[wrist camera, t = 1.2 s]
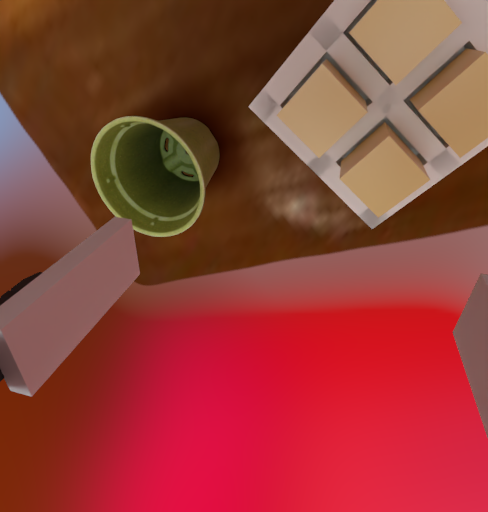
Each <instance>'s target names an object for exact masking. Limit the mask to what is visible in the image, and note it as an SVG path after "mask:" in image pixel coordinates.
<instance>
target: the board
mask: <svg viewBox="0 0 488 512" xmlns="http://www.w3.org/2000/svg"><path fill="white" fill-rule="evenodd" d="M376 1H377V0H334V1H333V3H332V4H331V5H330V6H329V8H328V9H327V10H326V11H325V13H324V14H323V15H322V16H321V17H320V19H319V20H318V21H317V22H316V24H315V25H314V26H313V27H312V29H311V30H310V31H309V32H308V34H307V35H306V36H305V37H304V39H303V40H302V41H301V42H300V43H299V45H298V46H297V47H296V48H295V50H294V51H293V52H292V53H291V55H290V56H289V57H288V58H287V60H286V61H285V62H284V63H283V65H282V66H281V67H280V68H279V69H278V71H277V72H276V73H275V74H274V76H273V77H272V78H271V79H270V81H269V82H268V83H267V84H266V86H265V87H264V88H263V89H262V91H261V92H260V93H259V94H258V95H257V97H256V98H255V99H254V100H253V102H252V103H251V104H250V105H249V108H250V109H251V110H252V111H253V112H254V113H255V114H256V115H257V116H258V117H259V118H260V119H261V120H262V121H263V122H264V123H265V124H266V125H267V126H268V127H269V128H270V129H271V130H272V131H273V132H274V133H275V134H276V135H277V136H278V137H279V138H280V139H281V140H282V141H283V142H284V143H285V144H286V145H287V146H288V147H289V148H290V149H291V150H292V151H293V152H294V153H295V154H296V155H297V156H298V157H299V158H300V159H302V160H303V161H304V162H305V163H306V164H307V165H308V166H309V167H310V168H311V169H312V170H313V171H314V172H315V173H316V174H317V175H318V176H319V177H320V178H321V179H322V180H323V181H324V182H325V183H326V184H327V185H328V186H329V187H330V188H331V189H332V190H333V191H334V192H335V193H336V194H337V195H338V196H339V197H340V198H341V199H342V200H343V201H344V202H345V203H346V204H347V205H348V206H349V207H350V208H351V209H352V210H353V211H354V212H355V213H356V214H357V215H358V216H359V217H360V218H361V219H362V220H363V221H364V222H365V223H366V224H367V225H368V226H369V227H370V228H371V229H373V228H374V227H376V226H377V225H379V224H380V223H381V222H383V221H384V220H386V219H387V218H388V217H390V216H391V215H393V214H394V213H395V212H397V211H398V210H399V209H401V208H402V207H404V206H405V205H406V204H408V203H409V202H411V201H412V200H413V199H415V198H416V197H418V196H419V195H420V194H422V193H423V192H424V191H426V190H427V189H429V188H430V187H431V186H433V185H434V184H436V183H437V182H438V181H440V180H441V179H443V178H444V177H445V176H447V175H448V174H449V173H451V172H452V171H454V170H455V169H456V168H458V167H459V166H461V165H462V164H463V163H465V162H466V161H468V160H469V159H470V158H472V157H473V156H474V155H476V154H477V153H479V152H480V151H481V150H483V149H484V148H486V147H487V146H488V138H487V139H485V140H484V141H483V142H481V143H480V144H479V145H477V146H476V147H475V148H473V149H472V150H470V151H469V152H468V153H466V154H465V155H464V156H462V157H461V158H460V157H459V156H458V155H457V154H456V153H455V152H454V151H453V149H452V148H451V147H450V146H449V145H448V144H447V143H446V142H445V140H444V139H443V138H442V137H441V136H440V135H439V134H438V133H437V131H436V130H435V129H434V128H433V127H432V126H431V125H430V124H429V122H428V121H427V120H426V119H425V118H424V117H423V116H422V115H421V113H420V112H419V111H418V110H417V109H416V107H415V106H414V105H413V103H412V102H411V101H410V99H411V98H412V97H413V96H414V95H415V94H416V93H417V92H418V91H420V90H421V89H422V88H423V87H424V86H425V85H426V84H427V83H428V82H430V81H431V80H432V79H433V78H434V77H435V76H436V75H437V74H438V73H440V72H441V71H442V70H443V69H444V68H445V67H446V66H447V65H448V64H450V63H451V62H452V61H453V60H454V59H455V58H456V57H457V56H458V55H460V54H461V53H462V52H463V51H464V50H465V49H466V48H467V49H472V50H478V51H483V52H486V53H487V54H488V1H487V0H444V1H445V2H446V3H447V5H448V6H449V7H450V8H451V10H452V11H453V12H454V13H455V15H456V16H457V17H458V18H459V19H460V21H461V22H462V23H461V24H460V25H459V26H458V27H457V28H456V29H455V30H454V31H453V32H452V33H451V34H450V35H449V36H448V37H447V38H446V39H445V40H444V41H442V42H441V43H440V44H439V45H438V46H437V47H436V48H435V49H434V50H433V51H432V52H431V53H430V54H429V55H428V56H427V57H426V58H425V59H423V60H422V61H421V62H420V63H419V64H418V65H417V66H416V67H415V68H414V69H413V70H412V71H411V72H410V73H409V74H408V75H407V76H406V77H404V78H403V79H402V80H401V81H400V82H399V83H398V84H397V85H395V84H394V83H393V82H392V81H391V80H390V79H389V77H388V76H387V75H386V74H385V73H384V72H383V71H382V70H381V68H380V67H379V66H378V65H377V64H376V63H375V62H374V61H373V59H372V58H371V57H370V56H369V55H368V54H367V53H366V52H365V50H364V49H363V48H362V47H361V46H360V45H359V44H358V43H357V41H356V40H355V39H354V38H353V37H352V36H351V35H350V34H349V32H350V31H351V30H352V29H353V28H354V27H355V25H356V24H357V23H358V22H359V21H360V20H361V19H362V17H363V16H364V15H365V14H366V13H367V12H368V11H369V9H370V8H371V7H372V6H373V5H374V4H375V3H376ZM326 59H327V60H328V61H329V62H330V63H331V64H332V65H333V66H334V67H335V68H336V69H337V70H338V71H339V73H340V74H341V75H342V76H343V77H344V78H345V79H346V80H347V81H348V82H349V83H350V85H351V86H352V87H353V88H354V89H355V90H356V91H357V92H358V93H359V94H360V95H361V96H362V98H363V99H364V100H365V101H366V105H367V111H368V113H366V114H365V115H364V116H363V117H362V118H361V119H360V120H359V121H358V122H357V123H356V124H355V125H354V126H353V127H352V128H351V129H350V130H349V131H347V132H346V133H345V134H344V135H343V136H342V137H341V138H340V139H339V140H338V141H337V142H336V143H335V144H334V145H333V146H332V147H331V148H330V149H328V150H327V151H326V152H325V153H324V154H323V155H322V156H321V157H320V158H318V157H317V156H316V155H315V154H314V153H313V152H312V151H311V150H310V149H309V148H308V147H307V146H306V145H305V144H304V143H303V142H302V141H301V140H300V139H299V138H298V137H297V136H296V135H295V134H294V133H293V132H292V131H291V130H290V129H289V128H288V127H287V126H286V125H285V124H284V123H283V122H282V121H281V120H280V119H279V117H278V116H277V114H278V113H279V112H280V111H281V110H282V108H283V107H284V106H285V105H286V104H287V103H288V102H289V101H290V99H291V98H292V97H293V96H294V95H295V94H296V93H297V91H298V90H299V89H300V88H301V87H302V86H303V85H304V83H305V82H306V81H307V80H308V79H309V78H310V77H311V75H312V74H313V73H314V72H315V71H316V70H317V69H318V68H319V66H320V65H321V64H322V63H323V62H324V61H325V60H326ZM384 122H385V123H386V124H387V125H388V126H389V127H390V128H391V129H392V130H393V131H394V132H395V133H396V134H397V136H398V137H399V138H400V139H401V140H402V141H403V142H404V143H405V144H406V145H407V146H408V148H409V149H410V150H411V151H412V152H413V153H414V154H415V155H416V156H417V157H418V158H419V159H420V161H421V162H422V164H423V166H424V168H425V170H426V172H427V174H428V176H429V178H430V180H429V181H428V182H427V183H425V184H424V185H423V186H421V187H420V188H419V189H417V190H416V191H414V192H413V193H412V194H410V195H409V196H408V197H406V198H405V199H404V200H402V201H401V202H399V203H398V204H397V205H395V206H394V207H393V208H391V209H390V210H389V211H387V212H386V213H384V214H383V215H382V216H380V217H379V218H378V217H377V216H376V215H375V214H374V213H373V212H372V211H371V210H370V209H369V208H368V207H367V206H366V205H365V204H364V203H363V202H362V201H361V200H360V199H359V198H358V197H357V196H356V195H355V194H354V193H353V192H352V191H351V190H350V189H349V188H348V187H347V186H346V185H345V184H344V183H343V182H342V181H341V180H340V169H341V161H342V160H343V159H344V158H345V157H346V156H347V155H348V154H350V153H351V152H352V151H353V150H354V149H355V148H356V147H357V146H358V145H360V144H361V143H362V142H363V141H364V140H365V139H366V138H367V137H368V136H370V135H371V134H372V133H373V132H374V131H375V130H376V129H377V128H378V127H380V126H381V125H382V124H383V123H384Z"/></svg>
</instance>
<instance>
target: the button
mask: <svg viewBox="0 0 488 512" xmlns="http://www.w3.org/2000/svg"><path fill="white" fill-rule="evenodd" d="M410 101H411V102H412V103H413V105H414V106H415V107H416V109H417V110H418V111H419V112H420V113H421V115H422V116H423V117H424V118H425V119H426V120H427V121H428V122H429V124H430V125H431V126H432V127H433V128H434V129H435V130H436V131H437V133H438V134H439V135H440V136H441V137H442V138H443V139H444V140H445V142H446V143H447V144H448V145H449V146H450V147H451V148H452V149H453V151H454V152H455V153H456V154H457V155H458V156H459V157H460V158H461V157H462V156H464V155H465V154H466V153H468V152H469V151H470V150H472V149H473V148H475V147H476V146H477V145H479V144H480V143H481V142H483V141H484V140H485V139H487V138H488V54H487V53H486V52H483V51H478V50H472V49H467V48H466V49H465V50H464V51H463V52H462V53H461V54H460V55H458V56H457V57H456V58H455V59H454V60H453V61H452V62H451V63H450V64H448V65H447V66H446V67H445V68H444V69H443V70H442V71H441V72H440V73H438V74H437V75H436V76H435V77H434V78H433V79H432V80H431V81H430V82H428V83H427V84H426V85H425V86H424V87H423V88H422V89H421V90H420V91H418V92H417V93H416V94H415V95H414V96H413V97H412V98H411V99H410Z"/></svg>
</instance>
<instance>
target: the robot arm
mask: <svg viewBox="0 0 488 512" xmlns="http://www.w3.org/2000/svg"><path fill="white" fill-rule="evenodd" d="M139 274H140V271H139V265H138V258H137V252H136V246H135V239H134V233H133V226H132V220H131V219H125V218H119V217H114V218H113V219H111V220H110V221H109V222H108V223H106V224H105V225H104V226H102V227H101V228H100V229H98V230H97V231H96V232H95V233H93V234H92V235H91V236H90V237H88V238H87V239H86V240H84V241H83V242H82V243H80V244H79V245H78V246H77V247H75V248H74V249H73V250H72V251H70V252H69V253H68V254H66V255H65V256H64V257H62V258H61V259H60V260H59V261H57V262H56V263H55V264H53V265H52V266H51V267H50V268H48V269H47V270H46V271H44V272H43V273H42V272H39V273H36V274H34V275H32V276H30V277H28V278H25V279H23V280H22V281H21V282H20V283H18V284H17V285H15V286H14V287H13V288H12V289H11V291H7V292H6V293H5V294H3V295H2V296H1V298H0V381H1V380H2V379H3V378H4V379H5V381H6V383H7V385H8V387H9V389H10V391H14V392H17V393H20V394H24V395H28V396H33V395H34V394H35V392H36V391H37V390H38V389H39V388H40V387H41V385H42V384H43V383H44V382H45V381H46V380H47V379H48V378H49V376H50V375H51V374H52V373H53V372H54V371H55V370H56V369H57V367H58V366H59V365H60V364H61V363H62V362H63V361H64V359H65V358H66V357H67V356H68V355H69V354H70V353H71V352H72V350H73V349H74V348H75V347H76V346H77V345H78V344H79V342H80V341H81V340H82V339H83V338H84V337H85V336H86V334H87V333H88V332H89V331H90V330H91V329H92V328H93V327H94V325H95V324H96V323H97V322H98V321H99V320H100V319H101V317H102V316H103V315H104V314H105V313H106V312H107V311H108V310H109V308H110V307H111V306H112V305H113V304H114V303H115V302H116V300H117V299H118V298H119V297H120V296H121V295H122V294H123V293H124V291H125V290H126V289H127V288H128V287H129V286H130V285H131V283H132V282H133V281H134V280H135V279H136V278H137V277H138V276H139ZM453 335H454V338H455V341H456V344H457V347H458V350H459V353H460V356H461V359H462V362H463V365H464V368H465V371H466V374H467V377H468V380H469V383H470V386H471V389H472V392H473V395H474V398H475V401H476V404H477V407H478V410H479V413H480V416H481V419H482V422H483V425H484V428H485V431H486V434H487V437H488V275H487V274H480V277H479V279H478V281H477V283H476V285H475V287H474V289H473V291H472V293H471V296H470V297H469V299H468V302H467V304H466V306H465V308H464V310H463V312H462V314H461V316H460V318H459V320H458V322H457V325H456V327H455V329H454V331H453Z"/></svg>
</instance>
